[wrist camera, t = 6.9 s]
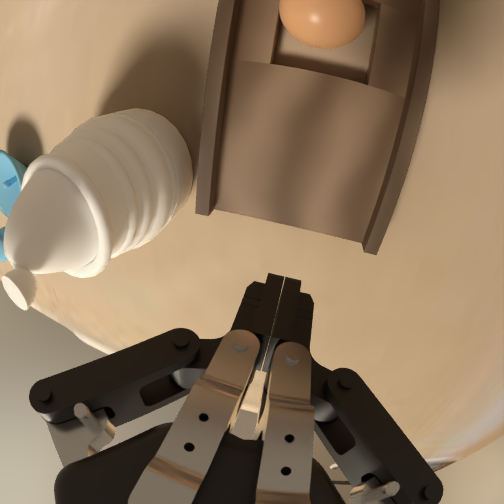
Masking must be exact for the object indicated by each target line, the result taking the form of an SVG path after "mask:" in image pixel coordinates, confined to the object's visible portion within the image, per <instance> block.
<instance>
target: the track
mask: <svg viewBox="0 0 504 504" xmlns="http://www.w3.org/2000/svg"><path fill="white" fill-rule="evenodd" d="M361 1H362V3H363V4H365V5H368V6H372V7H375V8H378V9H377V16H376V24H375V30H374V37H373V43H372V50H371V55H370V61H369V67H368V72H367V77H366V83H365V84H362V83H359V82H355V81H352V80H348V79H344V78H340V77H336V76H332V75H328V74H324V73H319V72H315V71H310V70H305V69H299V68H294V67H288V66H282V65H275V64H273V61H274V54H275V48H276V42H277V36H278V30H279V24H280V13H279V3H280V0H219V2H218V8H217V13H216V19H215V25H214V31H213V38H212V44H211V51H210V58H209V66H208V73H207V81H206V89H205V98H204V107H203V117H202V127H201V138H200V150H199V162H198V177H197V192H196V211H195V213H196V214H201V215H206V216H209V215H210V213H211V212H212V211H213V210H214V209H216V210H221V211H226V212H230V213H235V214H240V215H244V216H249V217H254V218H258V219H263V220H267V221H272V222H276V223H280V224H285V225H289V226H294V227H298V228H302V229H306V230H311V231H315V232H319V233H323V234H327V235H331V236H335V237H339V238H344V239H348V240H351V241H355V242H359V243H362V246H363V250H364V252H366V253H370V254H374V255H377V253H378V250H379V248H380V245H381V243H382V240H383V238H384V235H385V233H386V230H387V228H388V225H389V222H390V220H391V217H392V214H393V212H394V209H395V206H396V203H397V200H398V198H399V195H400V192H401V189H402V186H403V183H404V180H405V177H406V173H407V170H408V167H409V164H410V160H411V157H412V154H413V150H414V147H415V143H416V139H417V136H418V132H419V128H420V124H421V120H422V116H423V111H424V107H425V103H426V98H427V93H428V88H429V83H430V78H431V72H432V66H433V60H434V53H435V46H436V38H437V29H438V19H439V5H440V0H361Z"/></svg>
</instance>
